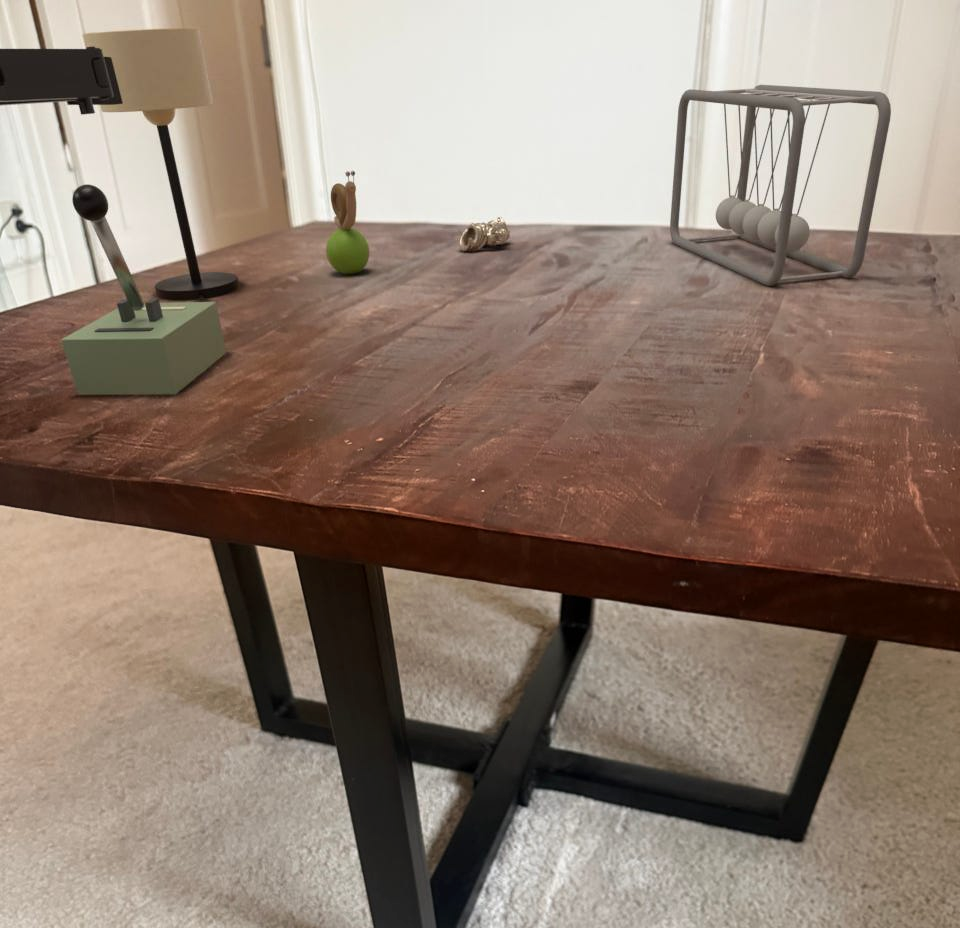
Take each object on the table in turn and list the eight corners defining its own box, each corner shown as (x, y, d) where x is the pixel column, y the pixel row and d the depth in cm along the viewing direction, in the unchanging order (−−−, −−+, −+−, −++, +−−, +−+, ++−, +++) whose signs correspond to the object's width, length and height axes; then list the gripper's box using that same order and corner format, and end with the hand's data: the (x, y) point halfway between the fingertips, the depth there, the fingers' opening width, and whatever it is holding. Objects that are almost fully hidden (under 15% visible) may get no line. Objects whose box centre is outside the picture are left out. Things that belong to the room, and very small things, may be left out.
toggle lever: (148, 318, 76) (92, 194, 67) (120, 318, 76) (61, 195, 67) (157, 300, 77) (104, 177, 68) (130, 300, 77) (73, 178, 69)
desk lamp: (143, 288, 111) (79, 35, 96) (237, 275, 114) (189, 30, 99) (164, 324, 95) (91, 29, 80) (272, 308, 99) (221, 23, 84)
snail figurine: (344, 282, 108) (330, 173, 101) (322, 274, 113) (307, 169, 106) (382, 275, 110) (371, 168, 104) (359, 267, 115) (347, 164, 108)
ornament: (484, 256, 117) (483, 227, 115) (450, 251, 121) (448, 222, 119) (525, 246, 121) (525, 217, 119) (491, 241, 125) (490, 213, 123)
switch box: (176, 397, 74) (156, 318, 71) (78, 397, 76) (54, 319, 72) (227, 355, 84) (212, 283, 80) (140, 356, 85) (121, 285, 82)
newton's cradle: (861, 282, 96) (897, 92, 86) (773, 291, 94) (800, 98, 84) (738, 235, 120) (756, 83, 110) (667, 242, 119) (678, 89, 109)
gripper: (-389, 192, 46) (-121, 167, 64) (54, 150, 43) (204, 136, 61) (-482, 19, 42) (-169, 44, 60) (-1, -40, 39) (176, 5, 57)
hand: (20, 90), depth 61 cm, fingers open, 13 cm apart
